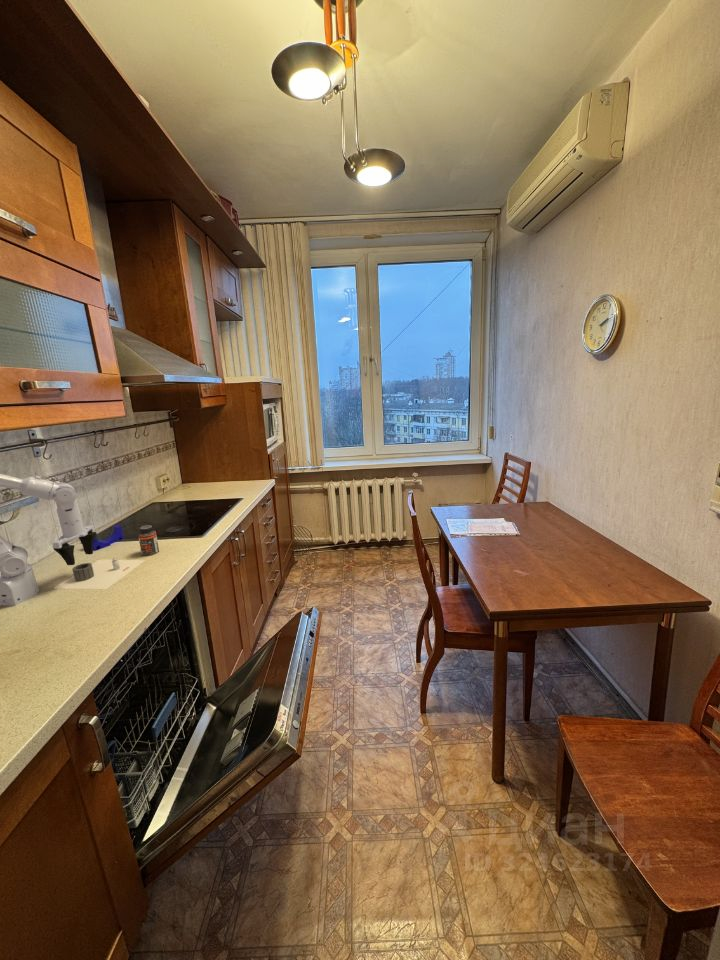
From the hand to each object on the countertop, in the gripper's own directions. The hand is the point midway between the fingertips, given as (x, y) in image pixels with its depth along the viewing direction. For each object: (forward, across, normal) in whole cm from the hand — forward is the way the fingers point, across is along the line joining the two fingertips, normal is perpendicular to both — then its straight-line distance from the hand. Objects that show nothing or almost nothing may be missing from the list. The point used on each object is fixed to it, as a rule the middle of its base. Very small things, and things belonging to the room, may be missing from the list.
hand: (80, 559), depth 125 cm
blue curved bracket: (+8, +28, +14) cm, 32 cm away
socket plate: (+8, +3, -4) cm, 9 cm away
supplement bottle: (+8, +19, -11) cm, 23 cm away
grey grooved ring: (+7, 0, 0) cm, 7 cm away
